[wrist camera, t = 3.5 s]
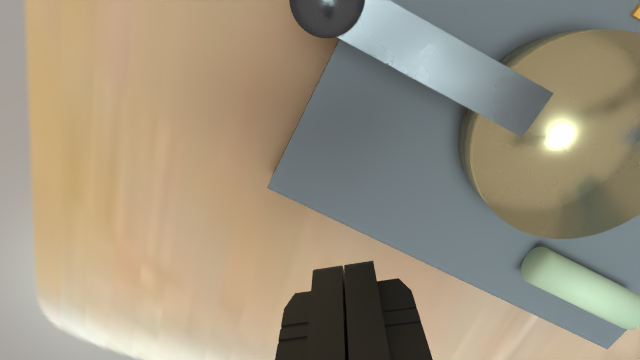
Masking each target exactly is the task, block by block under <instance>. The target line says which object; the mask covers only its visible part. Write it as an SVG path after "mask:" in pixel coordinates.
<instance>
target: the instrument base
mask: <svg viewBox="0 0 640 360" xmlns="http://www.w3.org/2000/svg"><path fill="white" fill-rule="evenodd" d="M390 1H392V2H394V3H395V4H397V5H399V6H401V7H402V8H404V9H406V10H408V11H410V12H411V13H413V14H415V15H417V16H418V17H420V18H422V19H424V20H425V21H427V22H429V23H431V24H433V25H434V26H436V27H438V28H440V29H441V30H443V31H445V32H447V33H448V34H450V35H452V36H454V37H455V38H457V39H459V40H461V41H463V42H464V43H466V44H468V45H470V46H471V47H473V48H475V49H477V50H478V51H480V52H482V53H484V54H485V55H487V56H489V57H491V58H493V59H494V60H496V61H498V62H500V61H502V60H503V59H504V58H505V57H506V56H508V55H509V54H511V53H512V52H514V51H515V50H516V49H518V48H520V47H522V46H523V45H525V44H527V43H529V42H531V41H533V40H536V39H538V38H541V37H544V36H546V35H550V34H554V33H558V32H565V31H573V30H625V31H631V32H637V33H640V0H390ZM466 108H467V107H465V106H463V105H461V104H459V103H458V102H456V101H454V100H452V99H450V98H448V97H446V96H445V95H443V94H441V93H439V92H437V91H435V90H434V89H432V88H430V87H428V86H426V85H424V84H422V83H421V82H419V81H417V80H415V79H413V78H411V77H410V76H408V75H406V74H404V73H402V72H400V71H398V70H397V69H395V68H393V67H391V66H389V65H387V64H386V63H384V62H382V61H380V60H378V59H376V58H374V57H373V56H371V55H369V54H367V53H365V52H363V51H362V50H360V49H358V48H356V47H354V46H352V45H350V44H349V43H347V42H345V41H343V40H341V39H339V41H338V43H337V45H336V47H335V49H334V51H333V53H332V56H331V58H330V60H329V62H328V64H327V66H326V68H325V70H324V72H323V74H322V76H321V78H320V80H319V82H318V84H317V86H316V88H315V90H314V92H313V94H312V96H311V98H310V100H309V102H308V104H307V106H306V108H305V110H304V113H303V115H302V117H301V119H300V121H299V123H298V125H297V127H296V129H295V131H294V133H293V135H292V137H291V139H290V141H289V143H288V145H287V147H286V149H285V151H284V153H283V155H282V157H281V159H280V161H279V163H278V165H277V167H276V170H275V172H274V174H273V176H272V178H271V180H270V182H269V185H268V187H267V188H269V189H271V190H273V191H275V192H277V193H279V194H281V195H283V196H286V197H288V198H290V199H292V200H294V201H296V202H298V203H300V204H302V205H305V206H307V207H309V208H311V209H313V210H315V211H317V212H319V213H321V214H323V215H326V216H328V217H330V218H332V219H334V220H336V221H338V222H340V223H342V224H345V225H347V226H349V227H351V228H353V229H355V230H357V231H359V232H361V233H363V234H366V235H368V236H370V237H372V238H374V239H376V240H378V241H380V242H382V243H385V244H387V245H389V246H391V247H393V248H395V249H397V250H399V251H401V252H403V253H406V254H408V255H410V256H412V257H414V258H416V259H418V260H420V261H422V262H425V263H427V264H429V265H431V266H433V267H435V268H437V269H439V270H441V271H444V272H446V273H448V274H450V275H452V276H454V277H456V278H458V279H460V280H462V281H465V282H467V283H469V284H471V285H473V286H475V287H477V288H479V289H481V290H484V291H486V292H488V293H490V294H492V295H494V296H496V297H498V298H500V299H502V300H505V301H507V302H509V303H511V304H513V305H515V306H517V307H519V308H521V309H524V310H526V311H528V312H530V313H532V314H534V315H536V316H538V317H540V318H543V319H545V320H547V321H549V322H551V323H553V324H555V325H557V326H559V327H561V328H564V329H566V330H568V331H570V332H572V333H574V334H576V335H578V336H580V337H583V338H585V339H587V340H589V341H591V342H593V343H595V344H597V345H599V346H601V347H604V348H606V349H608V348H609V347H610V346H611V345H612V344H613V343H614V342H615V341H616V340H617V339H618V338H619V337H620V336H621V335H622V334H623V333H624V332H625V331H626V330H627V329H635V328H637V327H639V326H640V214H639V215H637V216H636V217H634V218H633V219H631V220H629V221H627V222H625V223H623V224H621V225H620V226H617V227H615V228H612V229H610V230H608V231H605V232H602V233H598V234H595V235H592V236H586V237H581V238H573V239H550V238H543V237H538V236H534V235H531V234H527V233H525V232H523V231H520V230H518V229H516V228H514V227H512V226H511V225H509V224H507V223H506V222H505V221H504V220H502V219H501V218H500V217H499V216H497V215H496V213H495V212H494V211H493V210H492V209H491V208H490V207H489V206H488V205H487V203H486V202H485V201H484V200H483V199H482V198H481V197H480V196H479V195H478V193H477V192H476V191H475V190H474V188H473V187H472V185H471V184H470V182H469V181H468V179H467V176H466V174H465V172H464V169H463V166H462V162H461V157H460V150H459V145H460V131H461V124H462V121H463V117H464V113H465V111H466Z"/></svg>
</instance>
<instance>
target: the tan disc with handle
mask: <svg viewBox="0 0 640 360" xmlns="http://www.w3.org/2000/svg"><path fill="white" fill-rule="evenodd" d="M289 1H290V7H291V11H292V13H293V16H294V18H295V20H296V21H297V22H298V24H299V25H300V26H301V27H302V28H303V29H304V30H305V31H307V32H308V33H310V34H312V35H314V36H317V37H321V38H333V37H338V38H339V39H341V40H343V41H345V42H347V43H349V44H350V45H352V46H354V47H356V48H358V49H360V50H362V51H363V52H365V53H367V54H369V55H371V56H373V57H374V58H376V59H378V60H380V61H382V62H384V63H386V64H387V65H389V66H391V67H393V68H395V69H397V70H398V71H400V72H402V73H404V74H406V75H408V76H410V77H411V78H413V79H415V80H417V81H419V82H421V83H422V84H424V85H426V86H428V87H430V88H432V89H434V90H435V91H437V92H439V93H441V94H443V95H445V96H446V97H448V98H450V99H452V100H454V101H456V102H458V103H459V104H461V105H463V106H465V107H467V108H466V111H465V113H464V117H463V121H462V124H461V131H460V145H459V150H460V157H461V162H462V166H463V169H464V172H465V174H466V176H467V179H468V181H469V182H470V184H471V185H472V187H473V188H474V190H475V191H476V192H477V193H478V195H479V196H480V197H481V198H482V199H483V200H484V201H485V202H486V203H487V205H488V206H489V207H490V208H491V209H492V210H493V211H494V212H495V213H496V215H497V216H499V217H500V218H501V219H502V220H504V221H505V222H506V223H507V224H509V225H511V226H512V227H514V228H516V229H518V230H520V231H523V232H525V233H527V234H531V235H534V236H538V237H543V238H550V239H573V238H581V237H586V236H592V235H595V234H598V233H602V232H605V231H608V230H610V229H612V228H615V227H617V226H620V225H621V224H623V223H625V222H627V221H629V220H631V219H633V218H634V217H636V216H637V215H639V214H640V33H637V32H631V31H625V30H573V31H565V32H558V33H554V34H550V35H546V36H544V37H541V38H538V39H536V40H533V41H531V42H529V43H527V44H525V45H523V46H522V47H520V48H518V49H516V50H515V51H514V52H512V53H511V54H509V55H508V56H506V57H505V58H504V59H503V60H502V61H500V62H498V61H496V60H494V59H493V58H491V57H489V56H487V55H485V54H484V53H482V52H480V51H478V50H477V49H475V48H473V47H471V46H470V45H468V44H466V43H464V42H463V41H461V40H459V39H457V38H455V37H454V36H452V35H450V34H448V33H447V32H445V31H443V30H441V29H440V28H438V27H436V26H434V25H433V24H431V23H429V22H427V21H425V20H424V19H422V18H420V17H418V16H417V15H415V14H413V13H411V12H410V11H408V10H406V9H404V8H402V7H401V6H399V5H397V4H395V3H394V2H392V1H390V0H289Z"/></svg>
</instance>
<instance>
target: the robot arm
mask: <svg viewBox="0 0 640 360" xmlns="http://www.w3.org/2000/svg"><path fill="white" fill-rule="evenodd" d="M344 272H345V274H344ZM281 327H282V329H281V330H280V335H279V344H278V346H277V352H276V358H275V360H433V359H432V356H431V353H430V350H429V346H428V343H427V340H426V337H425V333H424V330H423V327H422V324H421V320H420V317H419V314H418V311H417V308H416V304H415V301H414V298H413V294H412V291H411V290H410V289H409V288H408V287H407V286H406V285H405V284H404V283H403V282H402V281H401V280H400V279H399V278H398V279H391V280H384V281H377V280H376V274H375V269H374V263H373V261H369V262H362V263H356V264H349V265H344V269H343V266H336V267H330V268H323V269H316V270H313V277H312V288H311V291H309V292H302V293H295V294H294V296H293V297H292V298H291V300H290V301H289V303H288V304H287V306H286V307H285V308H284V313H283V318H282V324H281Z"/></svg>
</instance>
